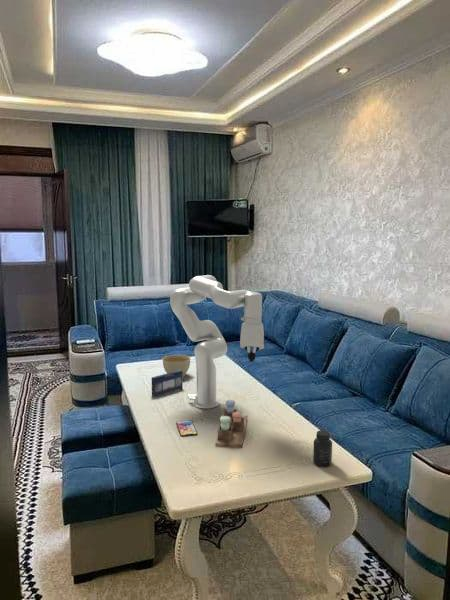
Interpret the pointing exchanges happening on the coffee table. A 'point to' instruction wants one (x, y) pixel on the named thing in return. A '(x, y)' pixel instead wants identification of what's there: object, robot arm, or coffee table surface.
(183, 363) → the planter bowl
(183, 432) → the smartphone
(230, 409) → the button slate
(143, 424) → the coffee table surface
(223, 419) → the button sage
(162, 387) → the vhs cassette tape
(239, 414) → the button terracotta
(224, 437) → the button board
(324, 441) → the supplement bottle
